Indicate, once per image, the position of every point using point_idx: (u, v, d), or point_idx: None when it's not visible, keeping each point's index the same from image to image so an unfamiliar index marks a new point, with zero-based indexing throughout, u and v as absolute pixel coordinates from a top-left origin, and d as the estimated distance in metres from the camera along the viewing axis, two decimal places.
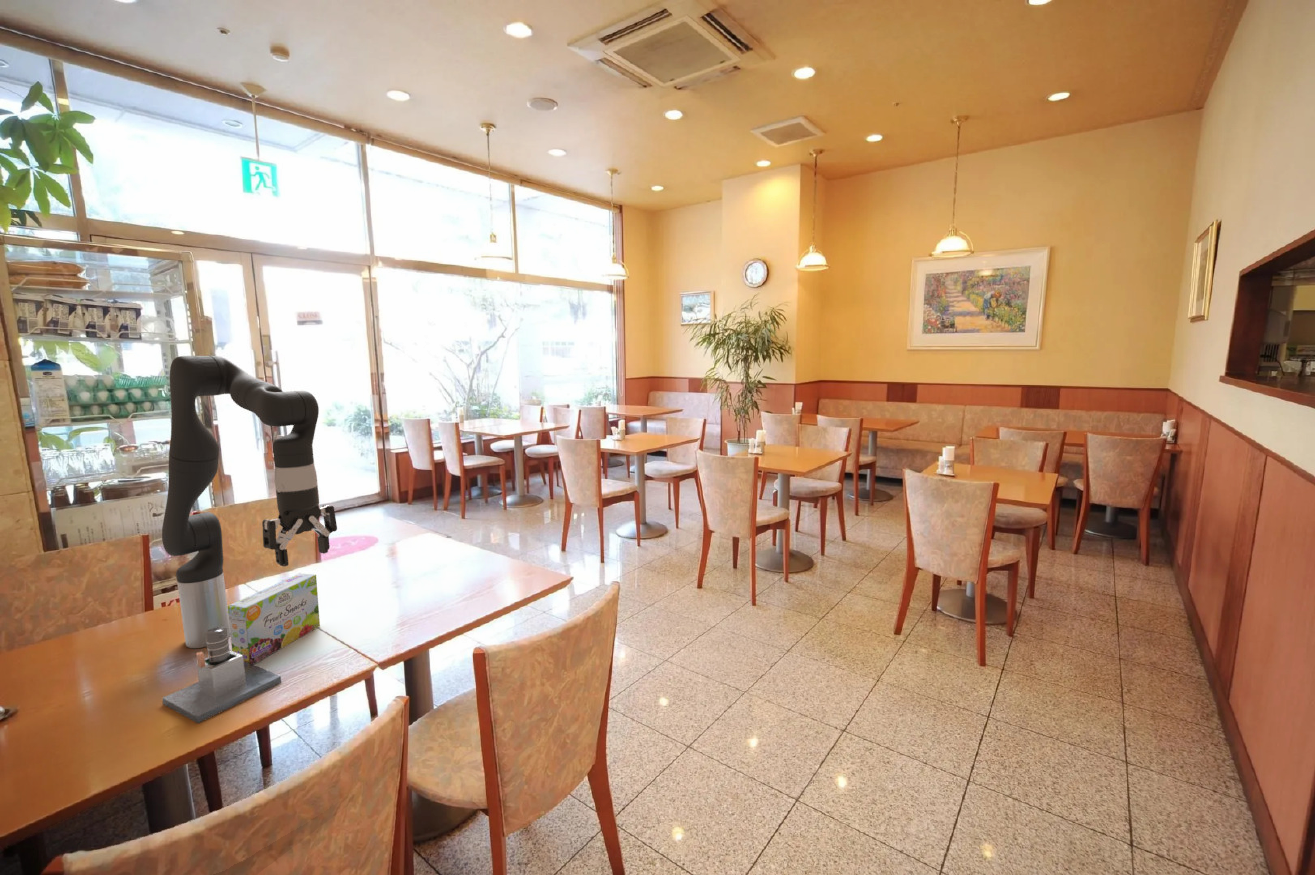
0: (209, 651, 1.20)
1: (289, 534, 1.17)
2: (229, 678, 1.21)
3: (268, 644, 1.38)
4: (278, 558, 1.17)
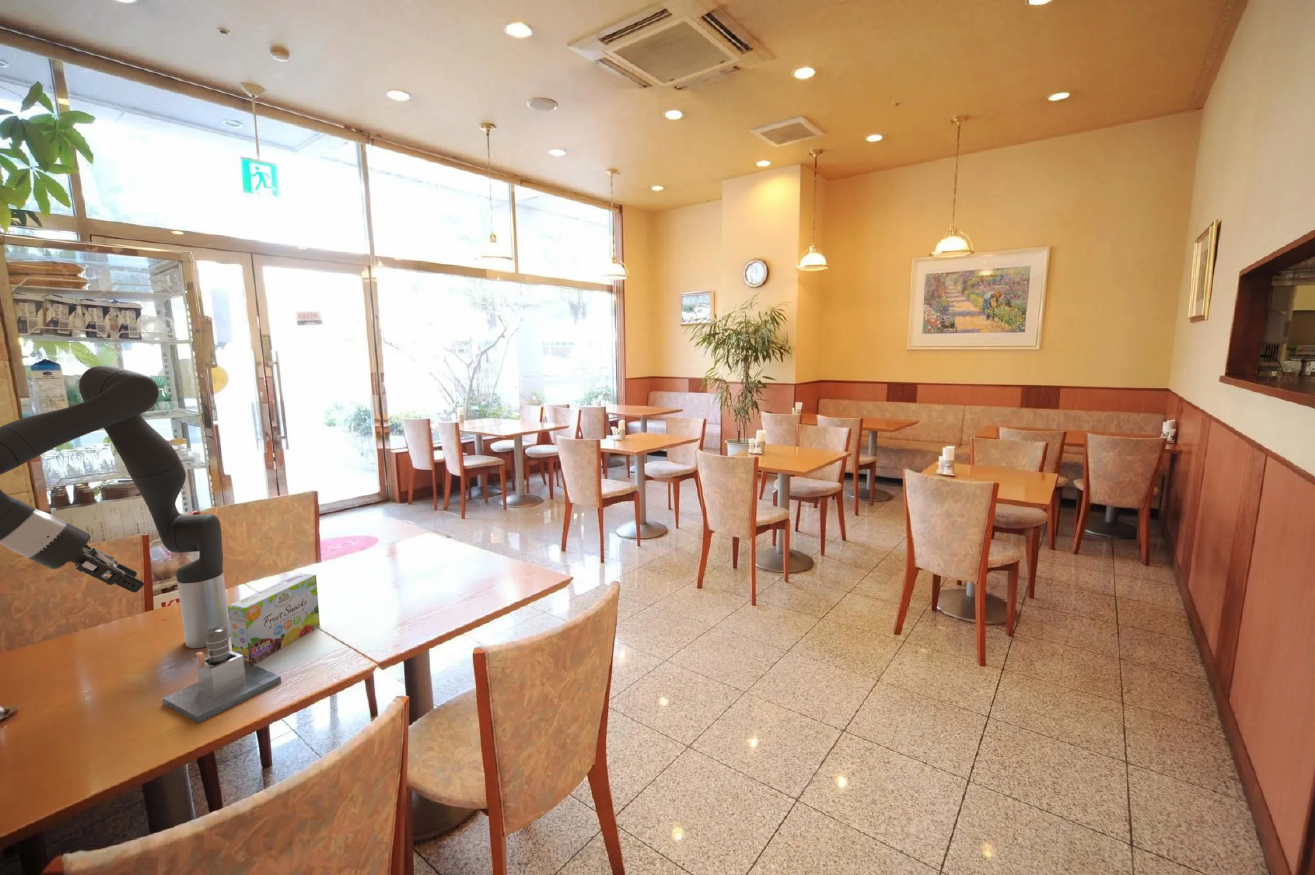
0: (209, 651, 1.20)
1: None
2: (229, 678, 1.21)
3: (268, 644, 1.38)
4: None
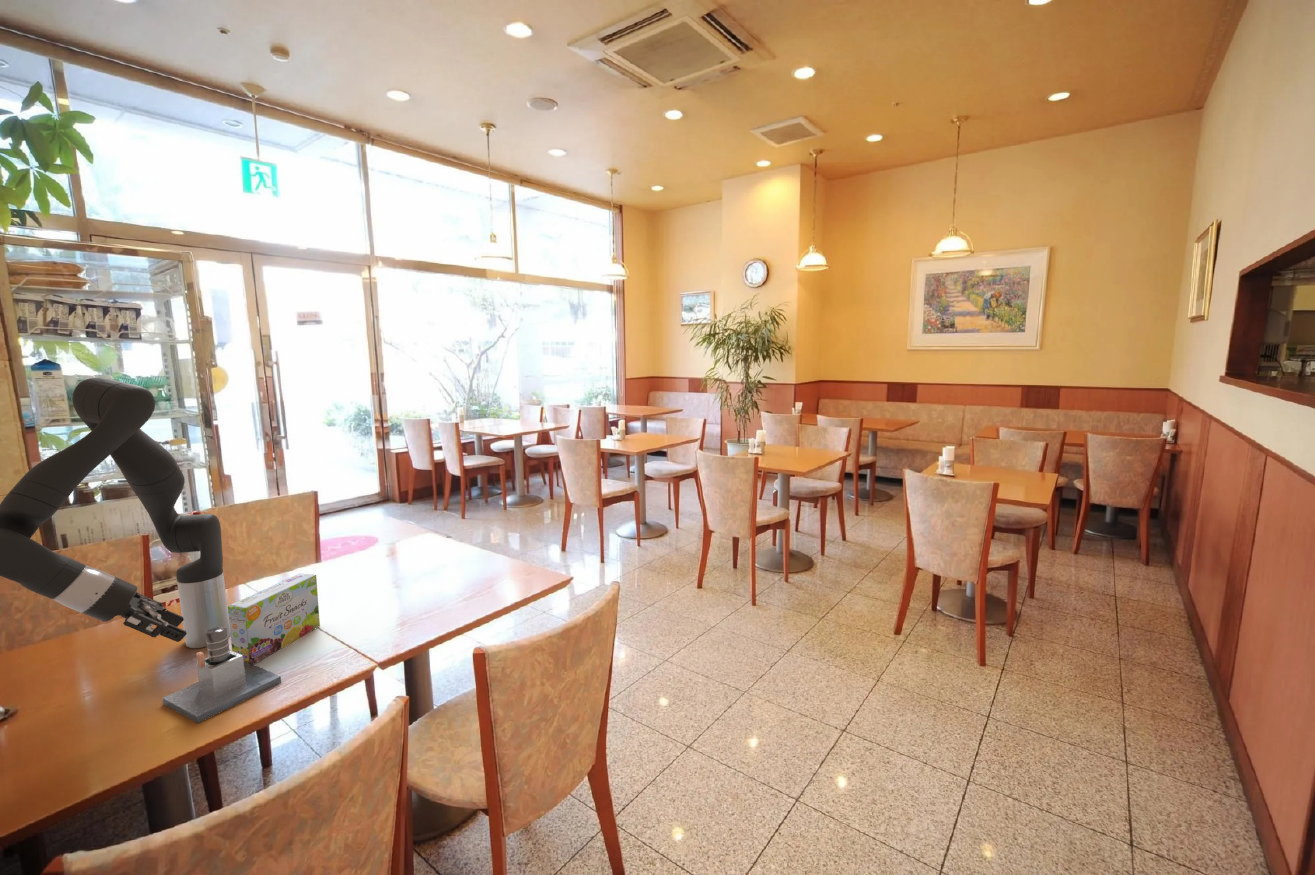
0: (209, 651, 1.20)
1: None
2: (229, 678, 1.21)
3: (268, 644, 1.38)
4: None
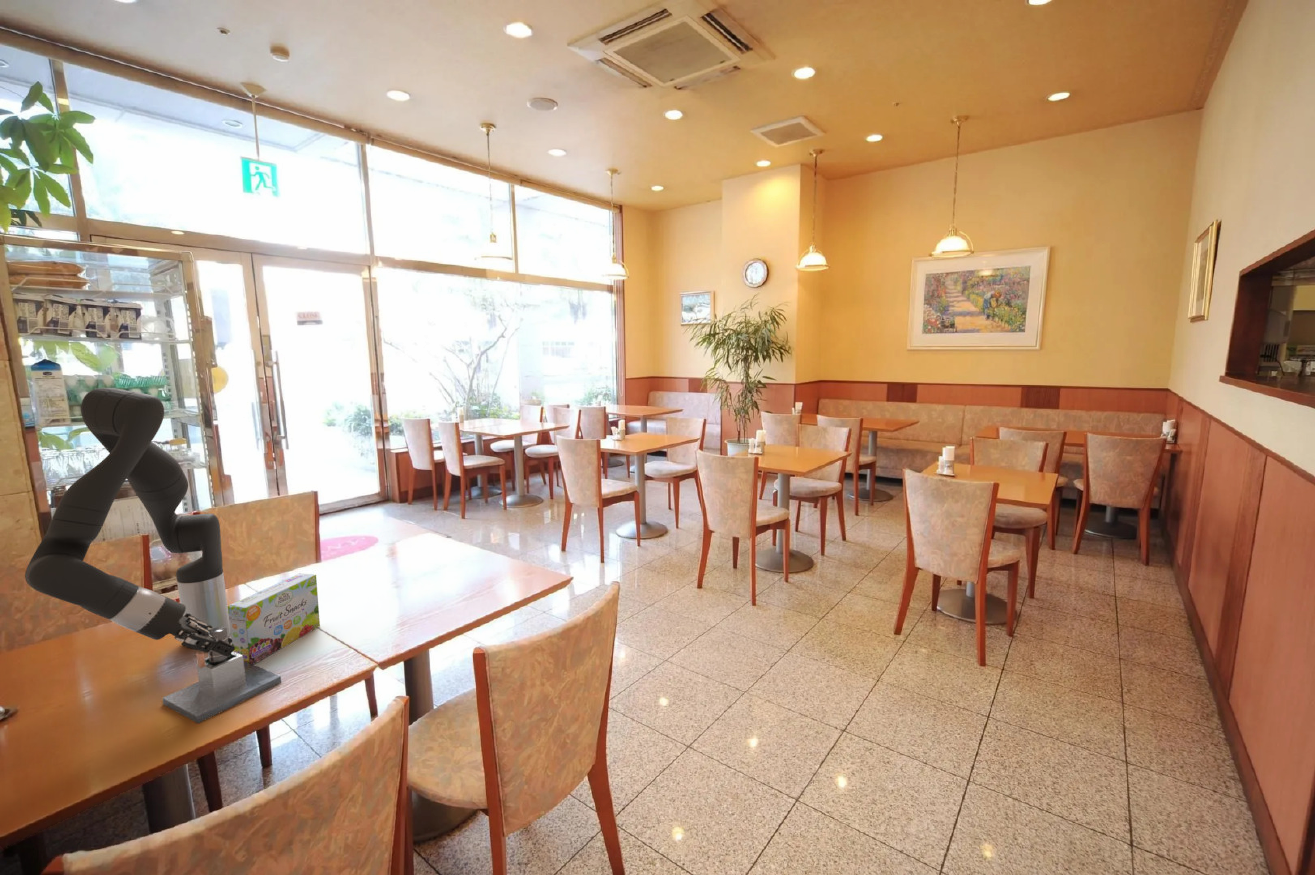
0: (209, 651, 1.20)
1: None
2: (229, 678, 1.21)
3: (268, 644, 1.38)
4: None
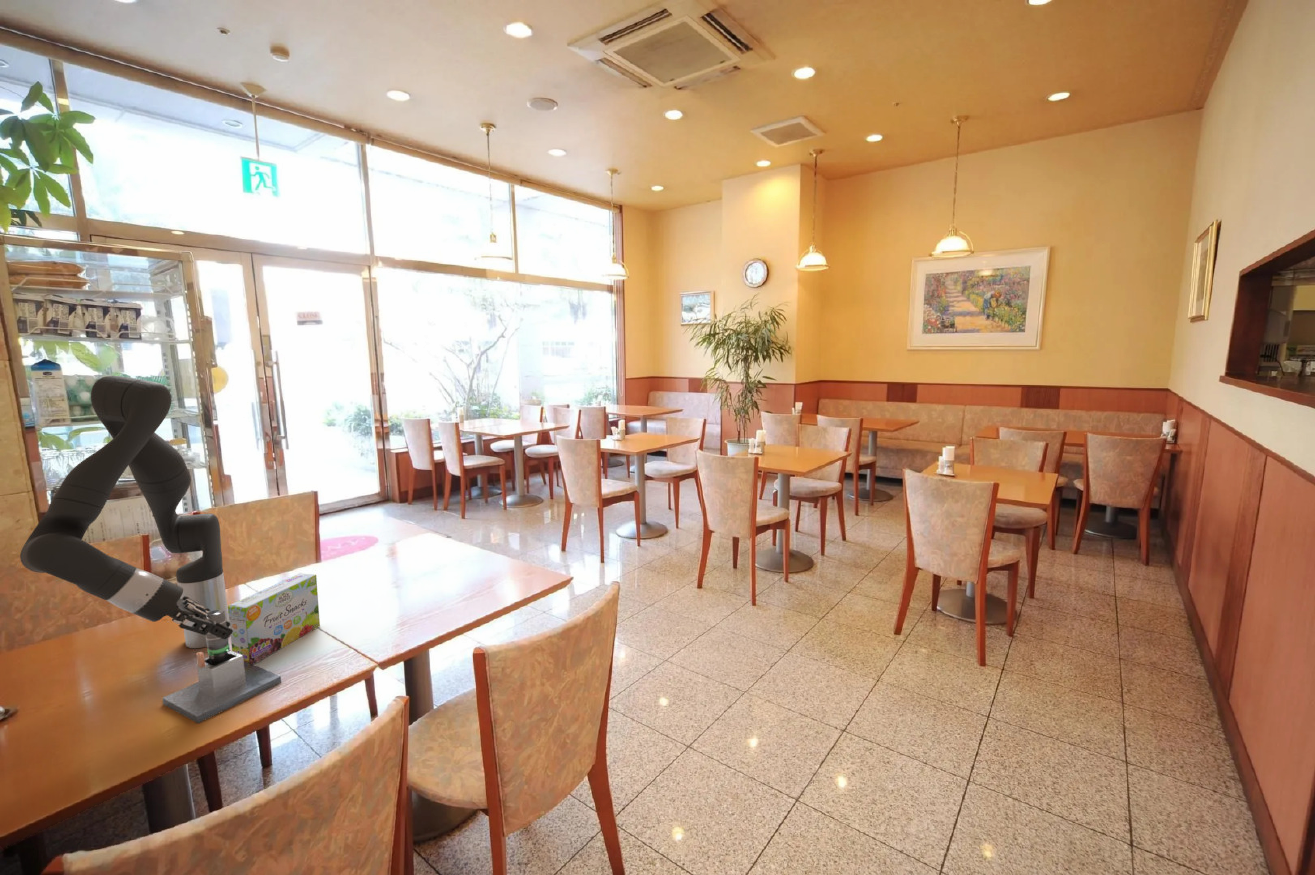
0: (207, 634, 1.20)
1: None
2: (229, 678, 1.21)
3: (268, 644, 1.38)
4: None
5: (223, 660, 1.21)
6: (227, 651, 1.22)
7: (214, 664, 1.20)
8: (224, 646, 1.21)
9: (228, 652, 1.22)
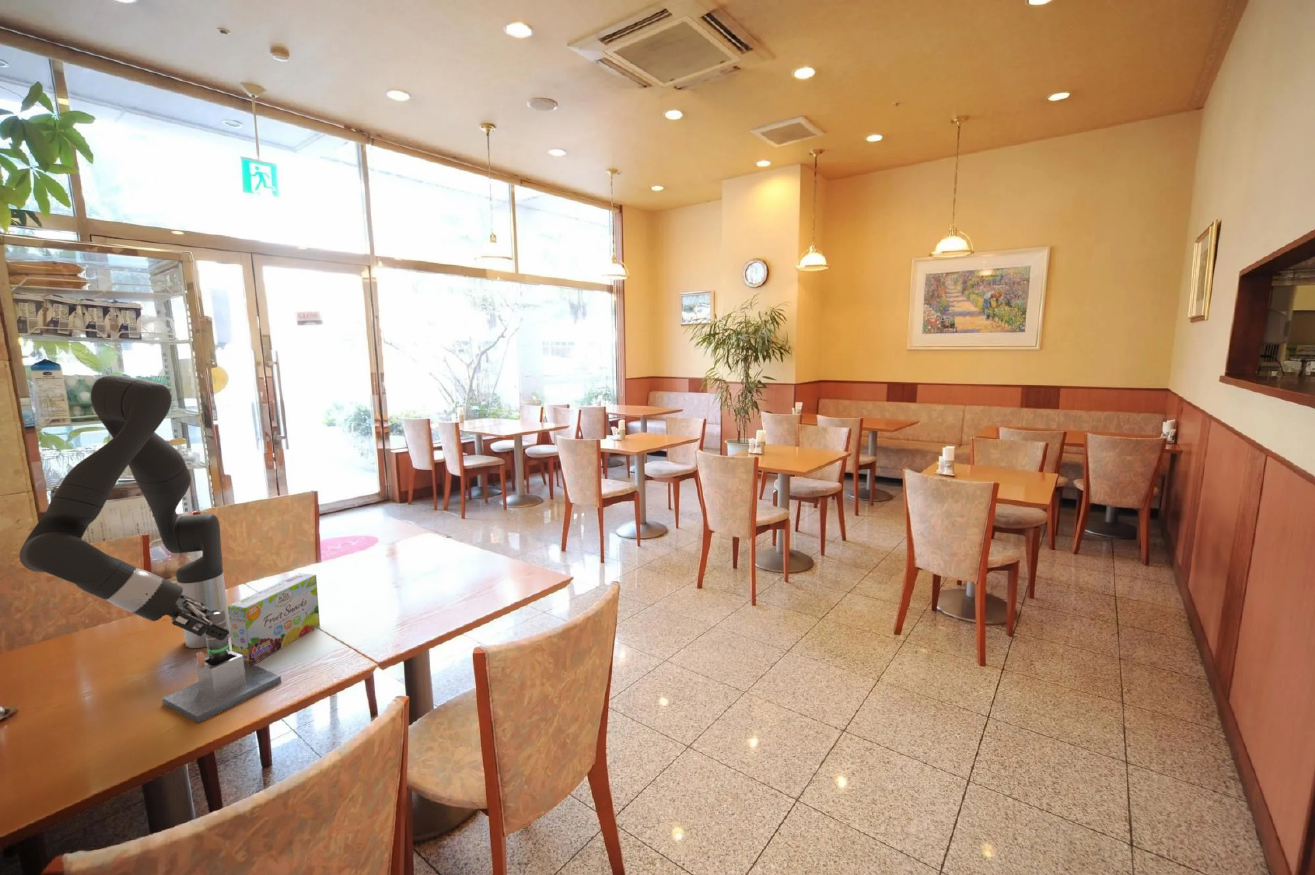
0: None
1: None
2: (229, 678, 1.21)
3: (268, 644, 1.38)
4: None
5: (223, 660, 1.21)
6: (227, 651, 1.22)
7: (214, 664, 1.20)
8: (224, 646, 1.21)
9: (228, 652, 1.22)
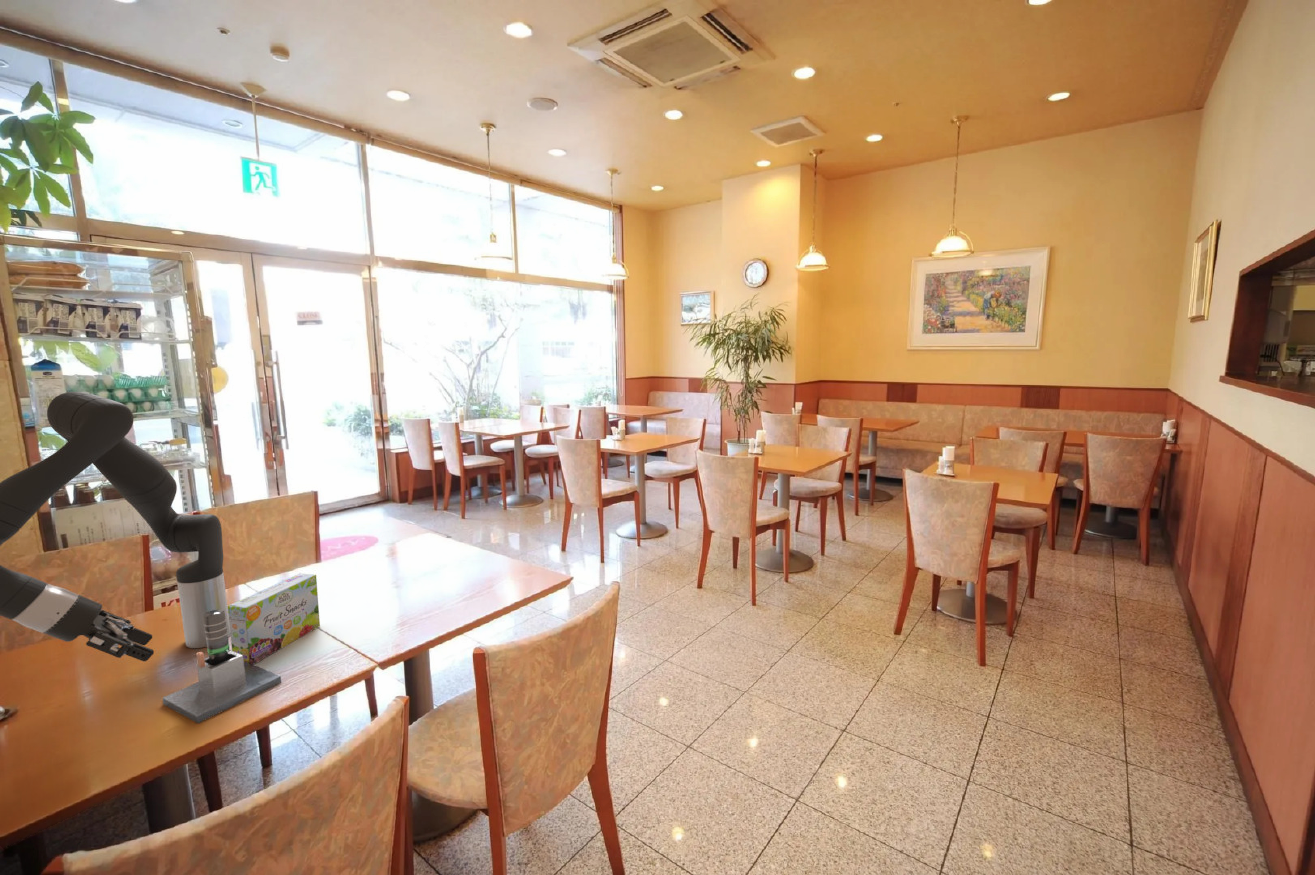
0: (207, 634, 1.19)
1: None
2: (229, 678, 1.21)
3: (268, 644, 1.38)
4: None
5: (223, 660, 1.21)
6: (227, 651, 1.22)
7: (214, 664, 1.20)
8: (224, 646, 1.21)
9: (228, 652, 1.22)
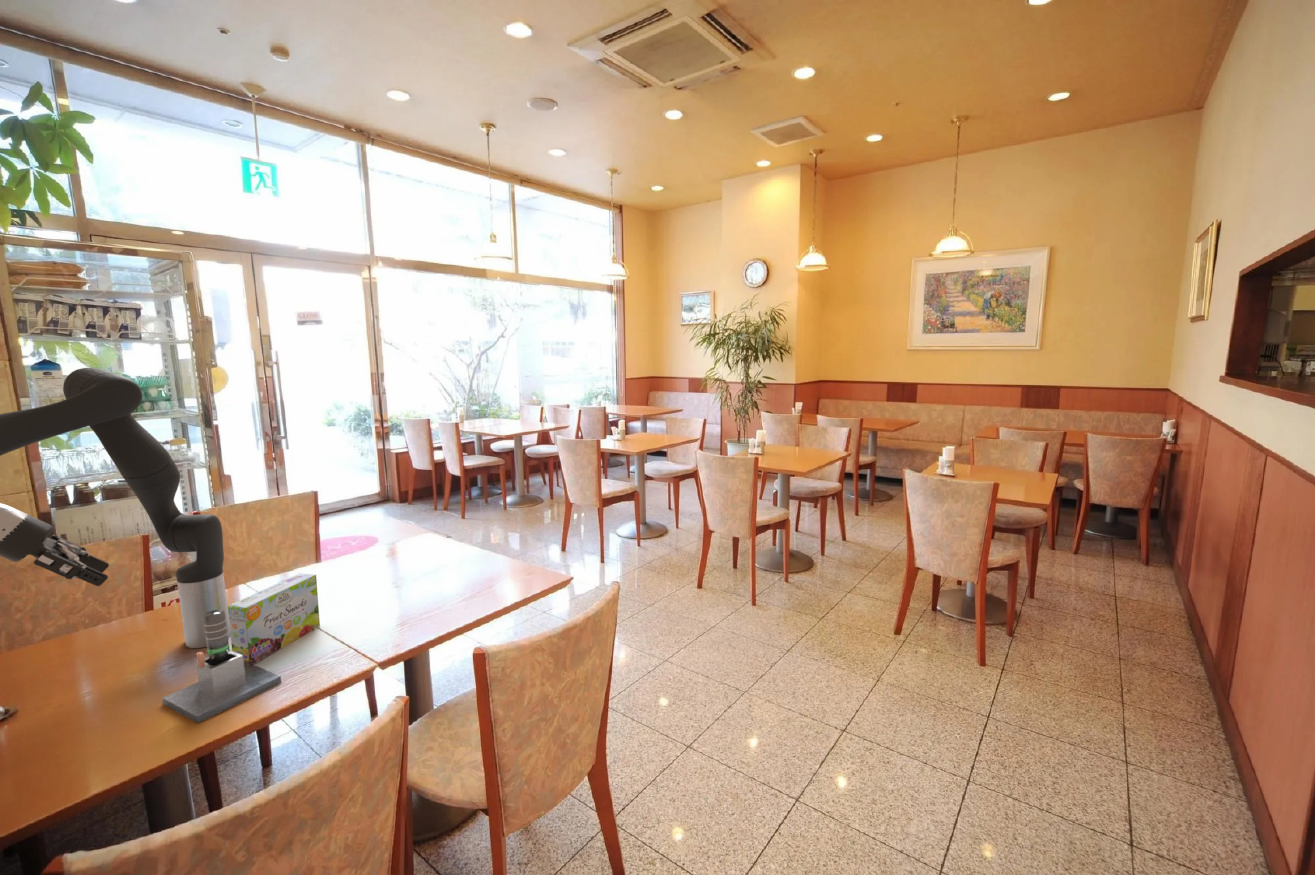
0: (207, 634, 1.19)
1: None
2: (229, 678, 1.21)
3: (268, 644, 1.38)
4: None
5: (223, 660, 1.21)
6: (227, 651, 1.22)
7: (214, 664, 1.20)
8: (224, 646, 1.21)
9: (228, 652, 1.22)
